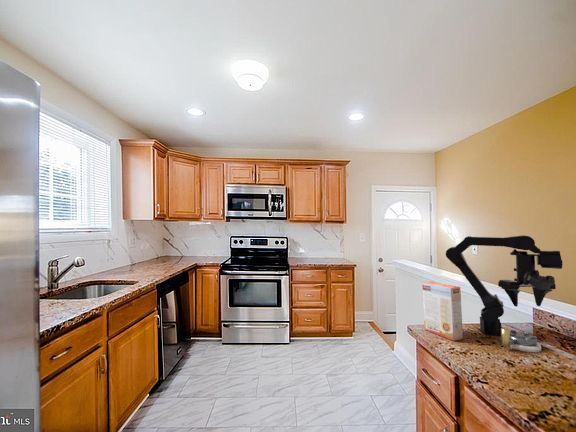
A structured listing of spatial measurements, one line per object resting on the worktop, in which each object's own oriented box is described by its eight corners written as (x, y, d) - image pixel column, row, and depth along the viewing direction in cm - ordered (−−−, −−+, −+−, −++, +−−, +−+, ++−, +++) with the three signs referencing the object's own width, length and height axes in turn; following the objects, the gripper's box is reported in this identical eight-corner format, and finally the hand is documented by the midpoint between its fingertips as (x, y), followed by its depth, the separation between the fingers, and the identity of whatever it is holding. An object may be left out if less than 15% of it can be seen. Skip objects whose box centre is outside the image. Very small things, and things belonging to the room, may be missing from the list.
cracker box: (464, 339, 109) (461, 286, 110) (453, 341, 107) (450, 288, 108) (433, 327, 122) (431, 280, 123) (423, 329, 120) (421, 282, 121)
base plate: (515, 351, 97) (514, 346, 97) (496, 339, 108) (495, 335, 108) (549, 352, 96) (549, 348, 96) (526, 340, 107) (526, 335, 107)
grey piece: (514, 335, 108) (513, 319, 108) (542, 343, 100) (541, 327, 100) (490, 341, 102) (489, 325, 103) (518, 351, 94) (517, 333, 94)
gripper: (520, 270, 100) (522, 313, 100) (569, 269, 101) (571, 312, 100) (496, 265, 111) (497, 304, 111) (541, 265, 112) (542, 303, 111)
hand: (527, 306), depth 108 cm, fingers open, 9 cm apart
